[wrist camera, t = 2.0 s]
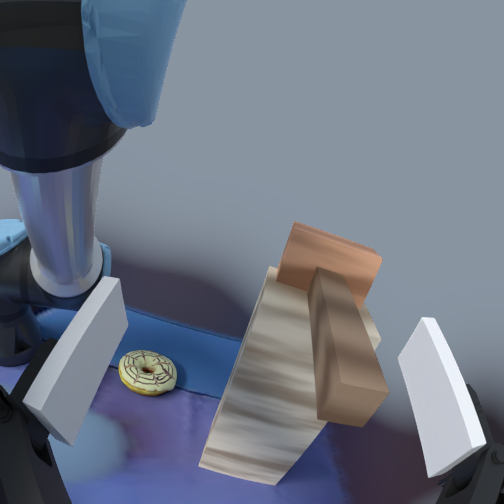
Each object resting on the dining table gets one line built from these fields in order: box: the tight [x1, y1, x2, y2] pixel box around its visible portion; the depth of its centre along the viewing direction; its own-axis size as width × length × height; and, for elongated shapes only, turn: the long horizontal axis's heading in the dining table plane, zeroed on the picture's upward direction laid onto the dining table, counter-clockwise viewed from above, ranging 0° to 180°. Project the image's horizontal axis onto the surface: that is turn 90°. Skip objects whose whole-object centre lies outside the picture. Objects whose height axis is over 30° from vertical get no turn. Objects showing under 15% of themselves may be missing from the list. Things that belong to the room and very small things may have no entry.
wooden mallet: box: [276, 221, 389, 427], centre depth 24 cm, size 22×10×6 cm, turn 173°
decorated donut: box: [119, 350, 177, 396], centre depth 49 cm, size 10×11×4 cm
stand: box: [199, 266, 381, 485], centre depth 35 cm, size 10×12×30 cm
